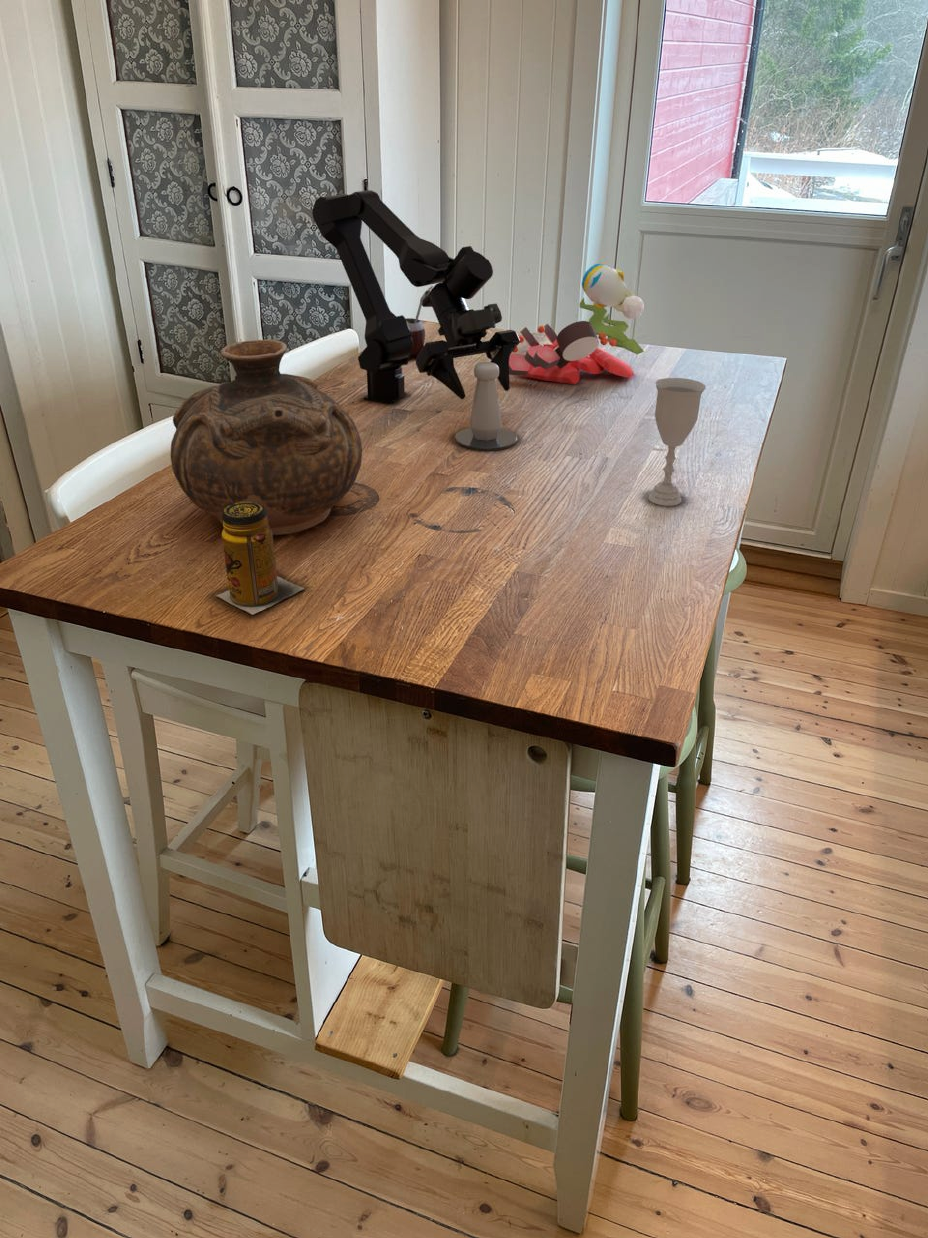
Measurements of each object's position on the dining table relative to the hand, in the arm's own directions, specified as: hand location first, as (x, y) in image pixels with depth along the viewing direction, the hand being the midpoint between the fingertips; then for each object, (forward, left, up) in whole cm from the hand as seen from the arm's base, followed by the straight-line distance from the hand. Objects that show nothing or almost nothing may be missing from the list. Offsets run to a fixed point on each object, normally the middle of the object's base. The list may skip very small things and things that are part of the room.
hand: (486, 393), depth 163 cm
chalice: (+35, -12, -8) cm, 38 cm away
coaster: (0, 0, -8) cm, 8 cm away
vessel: (-17, -42, -8) cm, 46 cm away
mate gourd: (-35, +41, -8) cm, 54 cm away
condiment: (-5, -63, -8) cm, 64 cm away
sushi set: (+3, +43, -8) cm, 44 cm away
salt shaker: (0, 0, -8) cm, 8 cm away
